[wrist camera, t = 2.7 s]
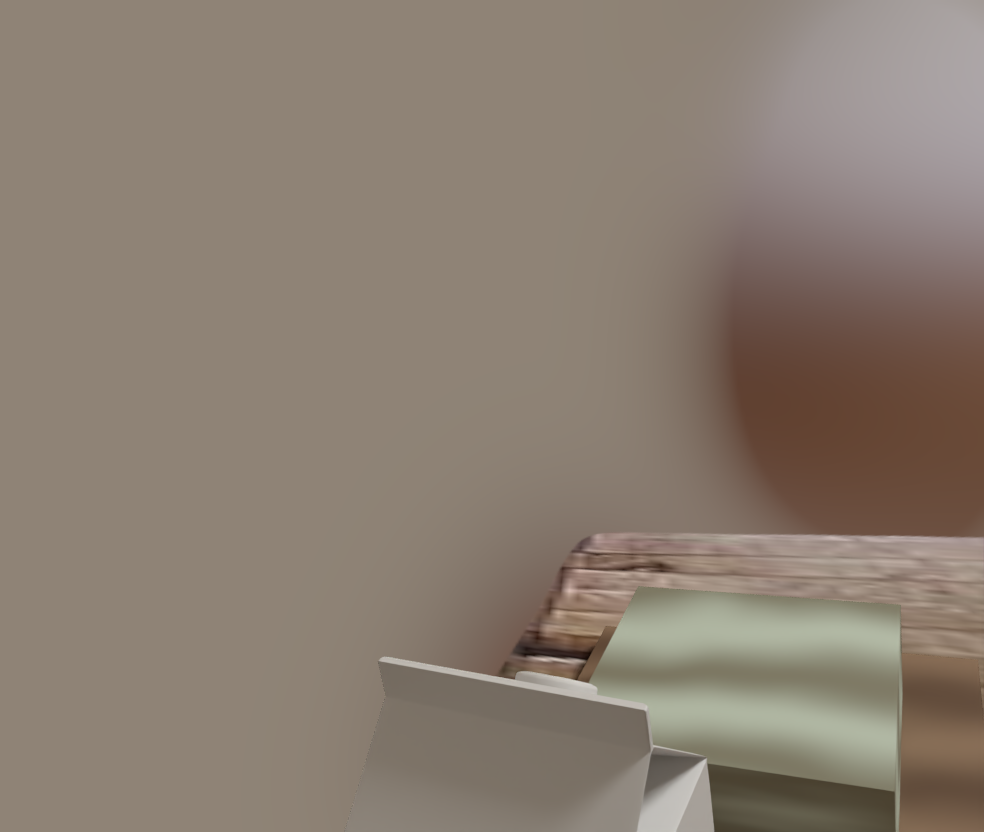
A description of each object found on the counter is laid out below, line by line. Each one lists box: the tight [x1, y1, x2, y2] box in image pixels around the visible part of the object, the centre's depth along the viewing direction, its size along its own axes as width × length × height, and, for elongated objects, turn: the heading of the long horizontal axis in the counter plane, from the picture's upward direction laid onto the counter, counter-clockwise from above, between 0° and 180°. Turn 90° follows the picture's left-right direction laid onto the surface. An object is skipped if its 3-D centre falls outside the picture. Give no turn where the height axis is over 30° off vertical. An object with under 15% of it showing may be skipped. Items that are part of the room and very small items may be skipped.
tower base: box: [577, 586, 984, 832], centre depth 42 cm, size 20×20×6 cm
